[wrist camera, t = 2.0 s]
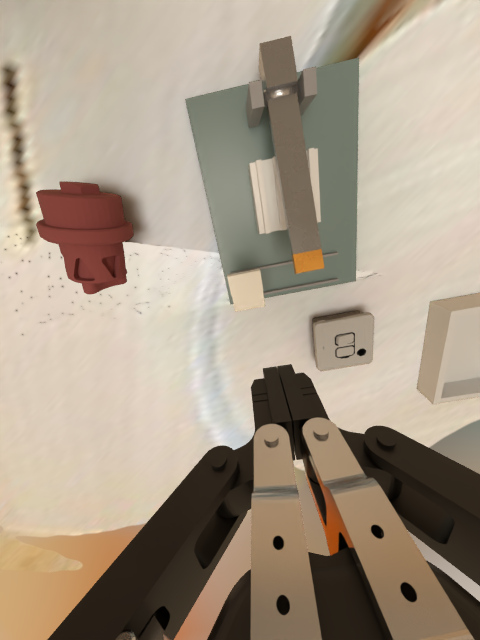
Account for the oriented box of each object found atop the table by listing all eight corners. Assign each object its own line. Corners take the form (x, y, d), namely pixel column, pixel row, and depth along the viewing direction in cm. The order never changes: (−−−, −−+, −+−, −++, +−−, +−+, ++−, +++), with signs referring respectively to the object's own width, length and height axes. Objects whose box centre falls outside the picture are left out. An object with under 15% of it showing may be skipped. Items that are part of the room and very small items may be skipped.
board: (186, 102, 29) (173, 71, 22) (354, 62, 28) (391, 18, 21) (230, 302, 39) (230, 320, 33) (352, 279, 38) (376, 293, 32)
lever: (256, 68, 25) (257, 44, 23) (288, 60, 25) (292, 35, 23) (291, 275, 27) (295, 272, 25) (321, 269, 27) (328, 266, 24)
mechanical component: (148, 275, 38) (123, 303, 29) (83, 270, 37) (37, 297, 29) (139, 186, 32) (103, 189, 23) (61, 179, 31) (-6, 178, 23)
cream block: (228, 263, 36) (227, 276, 28) (254, 258, 36) (260, 270, 28) (234, 294, 38) (235, 314, 31) (259, 289, 38) (266, 308, 30)
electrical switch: (374, 363, 40) (323, 378, 40) (354, 348, 45) (309, 361, 44) (376, 312, 37) (320, 328, 36) (355, 302, 41) (305, 315, 40)
